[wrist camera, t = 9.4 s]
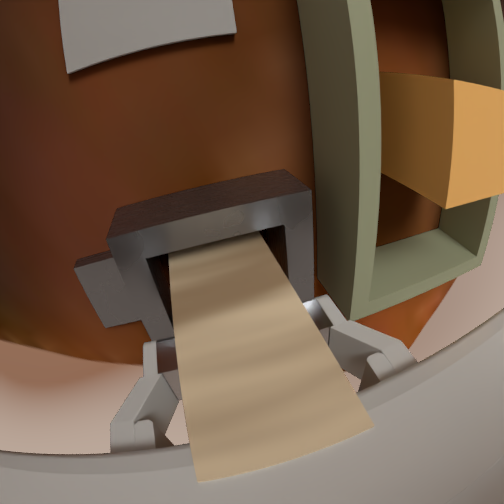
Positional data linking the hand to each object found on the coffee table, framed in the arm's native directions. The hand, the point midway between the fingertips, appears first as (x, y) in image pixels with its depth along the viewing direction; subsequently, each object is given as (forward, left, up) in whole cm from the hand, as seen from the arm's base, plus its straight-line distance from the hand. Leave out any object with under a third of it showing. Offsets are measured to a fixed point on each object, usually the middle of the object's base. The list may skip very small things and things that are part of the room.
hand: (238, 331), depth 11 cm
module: (-6, +11, -5) cm, 14 cm away
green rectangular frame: (-6, +11, -5) cm, 14 cm away
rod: (0, 0, -4) cm, 4 cm away
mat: (-14, -1, -5) cm, 15 cm away
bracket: (0, -1, -5) cm, 5 cm away
